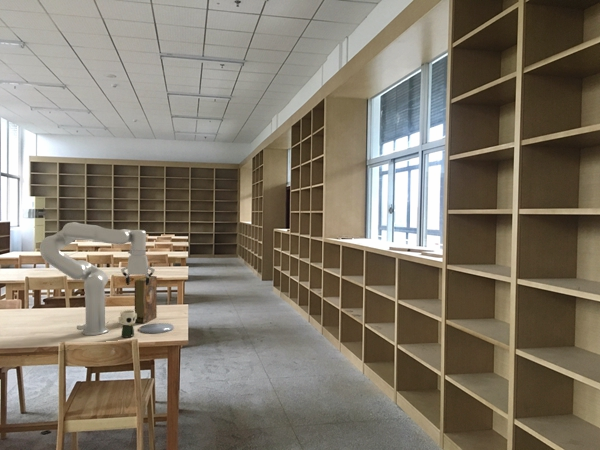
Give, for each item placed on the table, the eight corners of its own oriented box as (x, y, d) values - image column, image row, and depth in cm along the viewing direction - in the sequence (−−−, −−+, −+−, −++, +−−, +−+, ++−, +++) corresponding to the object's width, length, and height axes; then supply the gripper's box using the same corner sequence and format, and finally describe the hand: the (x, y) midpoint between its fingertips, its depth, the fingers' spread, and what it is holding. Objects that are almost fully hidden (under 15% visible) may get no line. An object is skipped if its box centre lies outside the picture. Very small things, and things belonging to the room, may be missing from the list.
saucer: (138, 334, 249) (138, 332, 249) (140, 325, 266) (140, 324, 266) (173, 332, 254) (173, 330, 254) (173, 324, 271) (173, 322, 271)
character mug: (123, 340, 238) (123, 314, 237) (114, 337, 242) (114, 312, 241) (141, 335, 247) (141, 310, 247) (132, 333, 251) (132, 308, 250)
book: (149, 316, 287) (149, 275, 286) (157, 317, 286) (157, 276, 285) (134, 323, 271) (134, 280, 270) (143, 324, 270) (143, 280, 269)
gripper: (119, 253, 249) (119, 285, 249) (154, 254, 252) (153, 286, 252) (122, 252, 256) (122, 283, 257) (155, 252, 259) (155, 283, 260)
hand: (137, 284), depth 255 cm, fingers open, 9 cm apart
